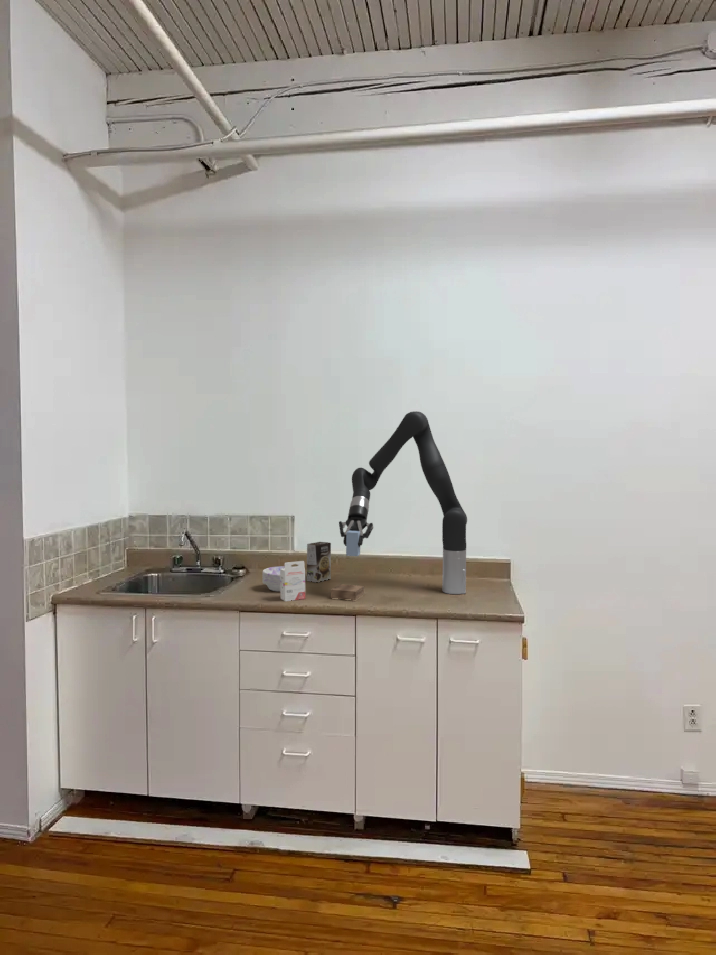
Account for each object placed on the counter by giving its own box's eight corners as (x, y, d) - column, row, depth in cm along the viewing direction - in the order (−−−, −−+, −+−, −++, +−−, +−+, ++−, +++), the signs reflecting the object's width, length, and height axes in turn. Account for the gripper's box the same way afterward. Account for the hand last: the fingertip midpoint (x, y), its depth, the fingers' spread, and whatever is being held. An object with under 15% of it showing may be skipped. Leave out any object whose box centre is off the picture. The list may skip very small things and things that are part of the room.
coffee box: (317, 583, 283) (317, 545, 282) (306, 581, 287) (306, 543, 286) (331, 579, 290) (331, 542, 289) (320, 577, 294) (320, 540, 293)
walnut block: (364, 596, 262) (364, 586, 262) (355, 602, 253) (355, 591, 252) (340, 594, 265) (340, 584, 265) (330, 599, 256) (330, 589, 256)
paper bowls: (268, 594, 262) (268, 574, 261) (258, 586, 276) (257, 567, 275) (305, 591, 268) (305, 571, 268) (293, 583, 282) (293, 564, 282)
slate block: (360, 554, 260) (360, 531, 259) (357, 556, 255) (358, 532, 255) (348, 553, 261) (348, 530, 260) (346, 555, 256) (346, 532, 255)
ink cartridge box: (300, 596, 260) (300, 558, 259) (305, 599, 255) (305, 560, 254) (279, 598, 256) (279, 560, 255) (284, 601, 251) (284, 562, 251)
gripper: (339, 503, 265) (332, 538, 254) (375, 504, 263) (369, 540, 252) (342, 515, 271) (335, 549, 260) (377, 516, 268) (371, 551, 257)
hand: (352, 545), depth 256 cm, fingers closed on slate block, 4 cm apart
